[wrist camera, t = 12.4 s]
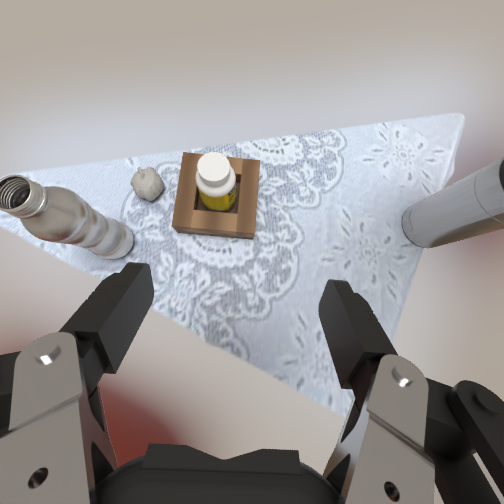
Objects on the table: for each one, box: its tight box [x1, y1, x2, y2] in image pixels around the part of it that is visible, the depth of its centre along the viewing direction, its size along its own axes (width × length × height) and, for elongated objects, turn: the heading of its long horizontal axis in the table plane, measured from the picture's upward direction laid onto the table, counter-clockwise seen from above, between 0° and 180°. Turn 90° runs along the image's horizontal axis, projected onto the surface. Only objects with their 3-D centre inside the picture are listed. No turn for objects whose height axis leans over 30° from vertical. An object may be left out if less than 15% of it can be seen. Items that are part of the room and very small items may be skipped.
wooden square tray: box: [172, 152, 260, 239], centre depth 42 cm, size 14×14×4 cm
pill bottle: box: [196, 152, 236, 213], centre depth 37 cm, size 6×6×11 cm
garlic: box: [130, 167, 164, 201], centre depth 41 cm, size 6×5×5 cm
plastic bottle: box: [0, 175, 133, 259], centre depth 31 cm, size 6×7×20 cm
